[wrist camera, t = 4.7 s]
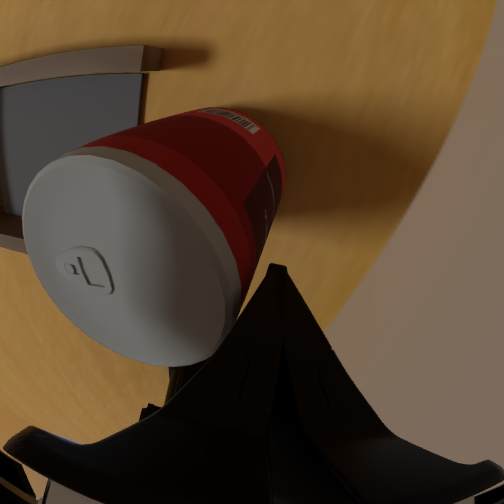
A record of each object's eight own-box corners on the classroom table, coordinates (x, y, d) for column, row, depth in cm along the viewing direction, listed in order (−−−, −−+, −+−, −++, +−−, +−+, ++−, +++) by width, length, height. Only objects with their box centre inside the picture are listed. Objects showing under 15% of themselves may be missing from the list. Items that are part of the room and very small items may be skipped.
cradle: (150, 253, 21) (137, 279, 19) (-4, 223, 20) (-22, 240, 18) (163, 48, 13) (144, 45, 11) (-20, 75, 12) (-45, 83, 10)
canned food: (143, 133, 16) (-3, 205, 7) (263, 86, 14) (155, 92, 5) (187, 237, 20) (94, 361, 11) (303, 213, 17) (272, 372, 8)
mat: (137, 233, 20) (136, 235, 20) (7, 211, 19) (5, 213, 19) (143, 73, 14) (142, 73, 14) (-5, 89, 13) (-8, 90, 13)
